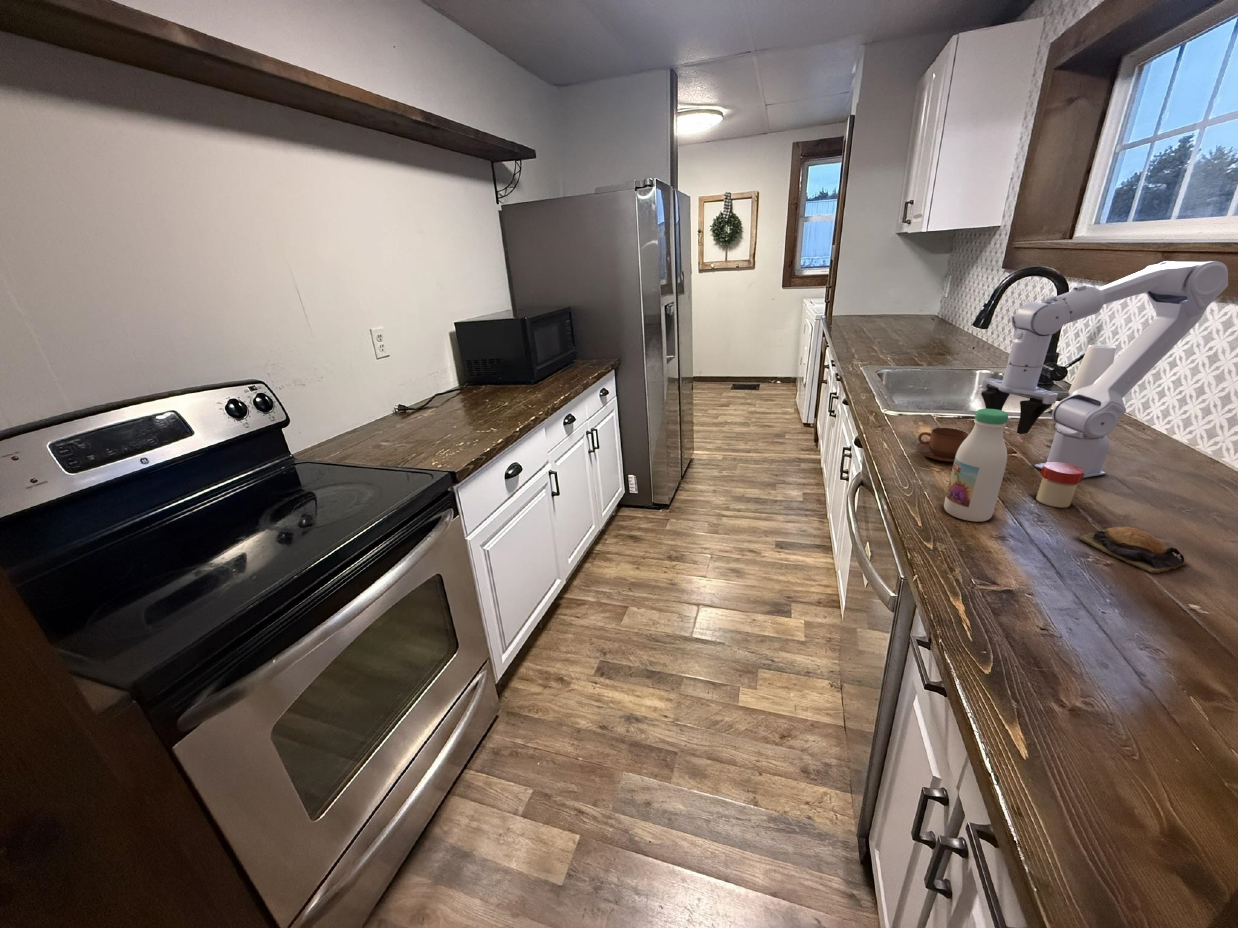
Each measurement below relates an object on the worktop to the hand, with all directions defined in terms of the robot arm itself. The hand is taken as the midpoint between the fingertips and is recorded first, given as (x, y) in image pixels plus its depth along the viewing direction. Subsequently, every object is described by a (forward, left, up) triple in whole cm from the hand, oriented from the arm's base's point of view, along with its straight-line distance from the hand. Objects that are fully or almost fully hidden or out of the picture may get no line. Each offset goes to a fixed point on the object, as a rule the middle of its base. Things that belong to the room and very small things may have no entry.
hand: (1006, 428), depth 106 cm
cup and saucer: (+3, -11, -11) cm, 15 cm away
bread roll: (+8, +31, -11) cm, 34 cm away
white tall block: (-31, -8, -11) cm, 34 cm away
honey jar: (+2, +14, -10) cm, 18 cm away
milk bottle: (+21, +13, -11) cm, 27 cm away
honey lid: (+2, +14, -4) cm, 15 cm away
